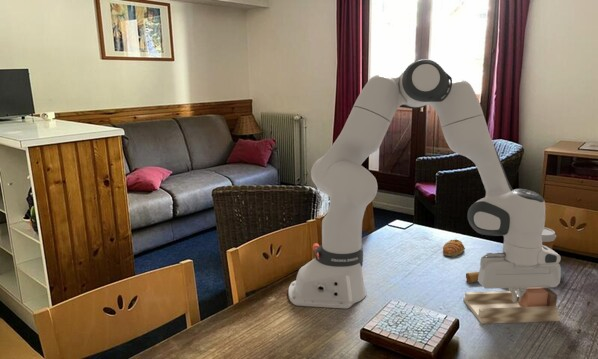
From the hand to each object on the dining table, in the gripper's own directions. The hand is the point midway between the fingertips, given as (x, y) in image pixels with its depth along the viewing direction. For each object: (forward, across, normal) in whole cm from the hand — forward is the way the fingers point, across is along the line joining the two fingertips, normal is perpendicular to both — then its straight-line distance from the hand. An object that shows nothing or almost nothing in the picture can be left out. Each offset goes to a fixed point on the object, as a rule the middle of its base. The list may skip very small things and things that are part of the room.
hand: (515, 301), depth 121 cm
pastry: (+3, -2, +40) cm, 40 cm away
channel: (+2, -2, 0) cm, 3 cm away
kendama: (+3, +3, +18) cm, 18 cm away
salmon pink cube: (+1, +4, 0) cm, 5 cm away
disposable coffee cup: (+3, +20, +27) cm, 34 cm away
